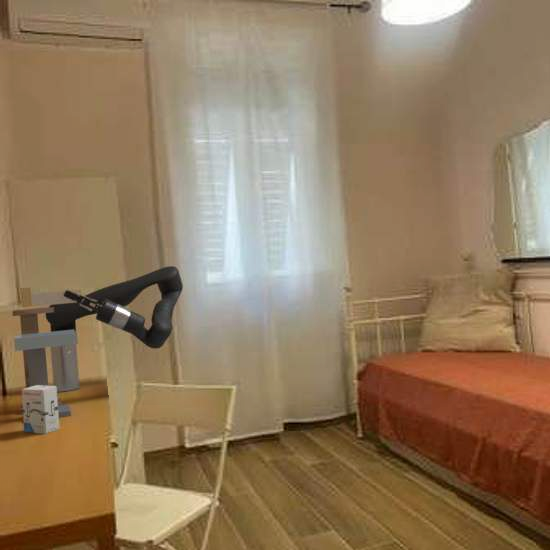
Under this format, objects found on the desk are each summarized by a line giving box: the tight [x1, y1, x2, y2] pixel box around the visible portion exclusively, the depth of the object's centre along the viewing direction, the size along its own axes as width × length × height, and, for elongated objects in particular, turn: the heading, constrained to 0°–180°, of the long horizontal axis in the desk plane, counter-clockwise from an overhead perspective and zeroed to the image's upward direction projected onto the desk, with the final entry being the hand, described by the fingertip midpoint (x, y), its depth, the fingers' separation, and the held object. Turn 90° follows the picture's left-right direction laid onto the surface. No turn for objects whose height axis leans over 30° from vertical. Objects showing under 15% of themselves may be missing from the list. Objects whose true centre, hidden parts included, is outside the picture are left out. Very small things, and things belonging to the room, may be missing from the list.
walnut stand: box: [12, 306, 63, 415], centre depth 189 cm, size 9×12×32 cm
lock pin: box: [19, 287, 82, 308], centre depth 191 cm, size 6×18×6 cm, turn 112°
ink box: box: [21, 385, 60, 435], centre depth 158 cm, size 9×5×12 cm, turn 62°
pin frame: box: [13, 330, 79, 419], centre depth 178 cm, size 14×17×24 cm
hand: (64, 293), depth 192 cm, fingers closed on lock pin, 4 cm apart
